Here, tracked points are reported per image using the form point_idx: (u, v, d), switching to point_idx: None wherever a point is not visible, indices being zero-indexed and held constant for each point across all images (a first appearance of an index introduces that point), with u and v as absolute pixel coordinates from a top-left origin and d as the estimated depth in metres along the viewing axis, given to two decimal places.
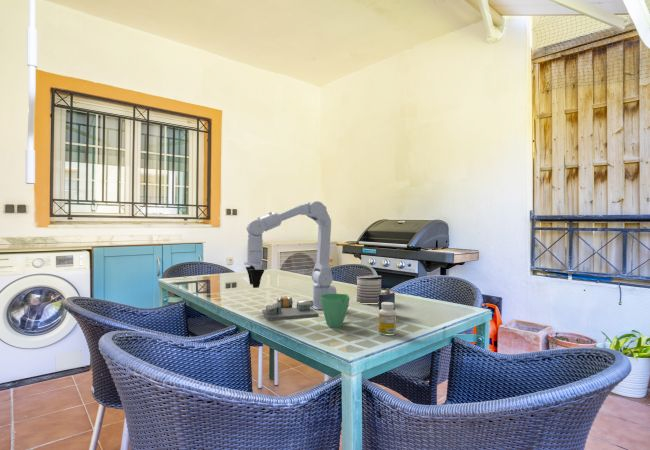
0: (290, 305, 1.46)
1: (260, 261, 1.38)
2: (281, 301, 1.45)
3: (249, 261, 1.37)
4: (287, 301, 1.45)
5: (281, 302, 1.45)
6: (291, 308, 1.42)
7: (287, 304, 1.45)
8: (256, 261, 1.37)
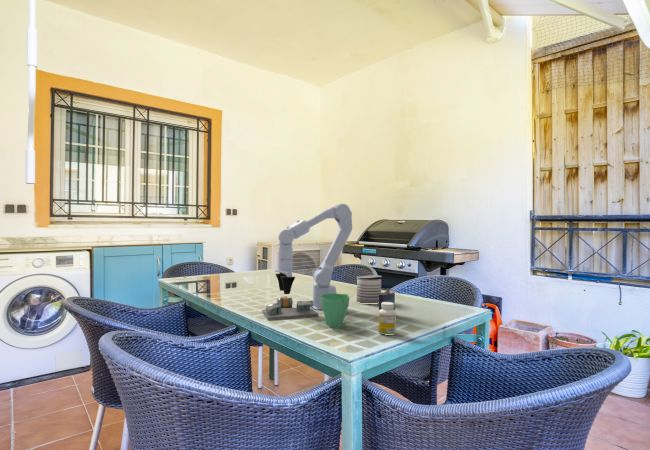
0: (290, 305, 1.46)
1: (290, 269, 1.46)
2: (281, 301, 1.45)
3: (280, 269, 1.45)
4: (287, 301, 1.45)
5: (281, 302, 1.45)
6: (291, 308, 1.42)
7: (287, 304, 1.45)
8: (287, 269, 1.44)
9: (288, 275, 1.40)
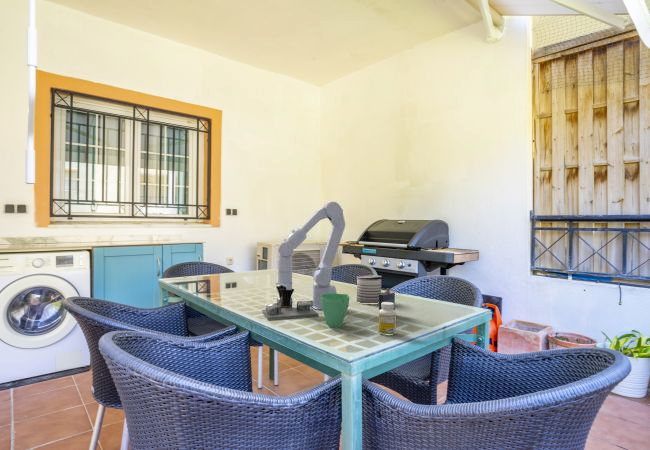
0: (290, 305, 1.46)
1: (290, 281, 1.46)
2: (281, 301, 1.45)
3: (280, 281, 1.45)
4: None
5: (281, 302, 1.45)
6: (291, 308, 1.42)
7: None
8: (287, 281, 1.44)
9: (288, 288, 1.40)
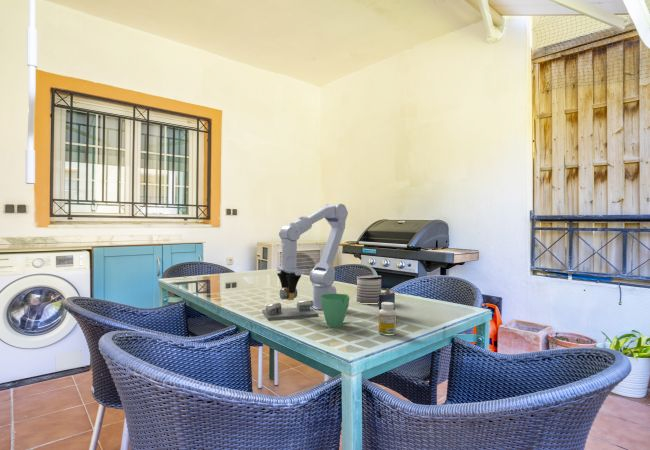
0: (295, 295, 1.38)
1: None
2: (286, 291, 1.36)
3: (286, 267, 1.36)
4: None
5: (287, 292, 1.36)
6: (291, 308, 1.42)
7: (292, 294, 1.37)
8: (293, 267, 1.36)
9: (298, 273, 1.32)
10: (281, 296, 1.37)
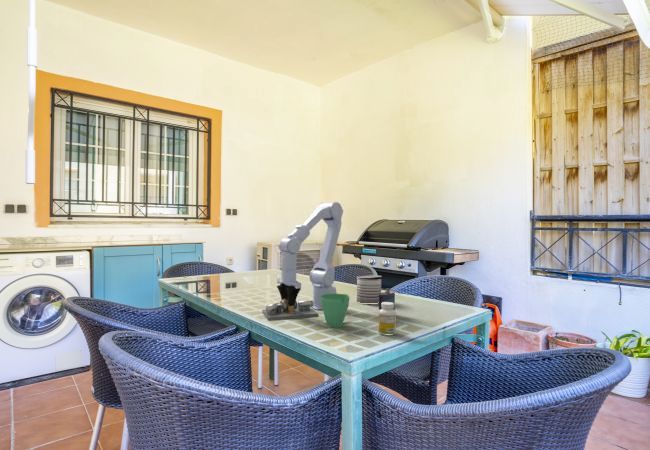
0: (295, 307, 1.38)
1: (295, 279, 1.38)
2: (286, 303, 1.36)
3: (285, 280, 1.36)
4: None
5: (286, 304, 1.36)
6: None
7: (292, 306, 1.37)
8: (293, 279, 1.36)
9: (298, 286, 1.32)
10: (281, 308, 1.37)
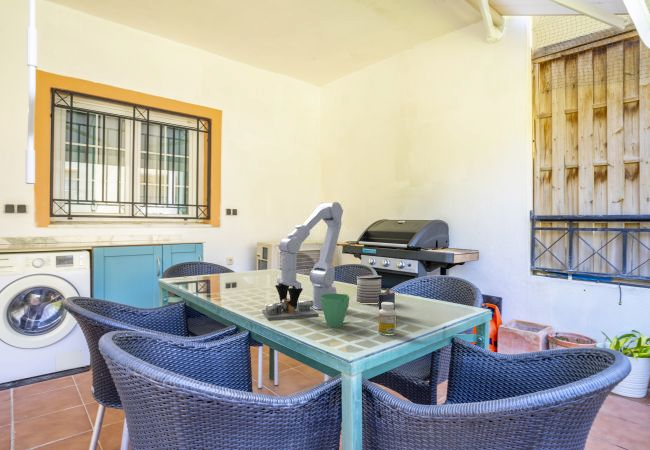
0: (295, 307, 1.38)
1: (295, 279, 1.38)
2: (286, 303, 1.36)
3: (285, 280, 1.36)
4: None
5: (286, 304, 1.36)
6: None
7: None
8: (293, 280, 1.36)
9: (298, 287, 1.32)
10: (281, 308, 1.37)
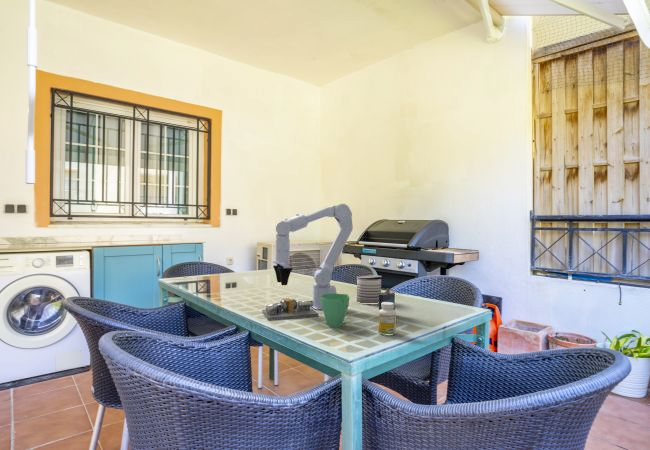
0: (295, 307, 1.38)
1: (288, 260, 1.46)
2: (286, 303, 1.36)
3: (277, 260, 1.45)
4: (292, 303, 1.37)
5: (286, 304, 1.36)
6: None
7: (292, 306, 1.37)
8: (284, 260, 1.45)
9: (285, 266, 1.41)
10: (281, 308, 1.37)
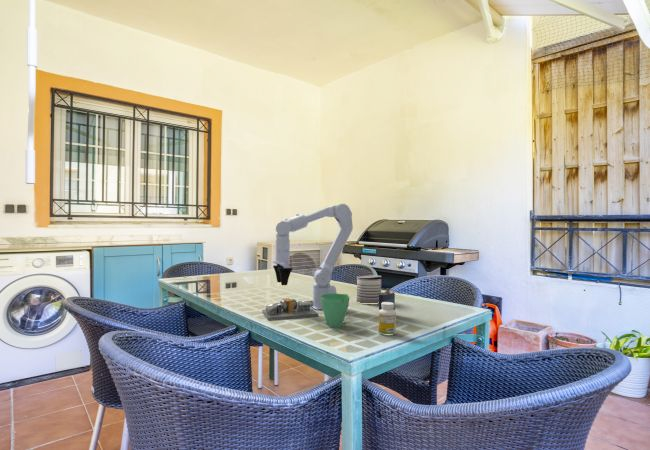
0: (295, 307, 1.38)
1: (288, 260, 1.46)
2: (286, 303, 1.36)
3: (277, 260, 1.45)
4: (292, 303, 1.37)
5: (286, 304, 1.36)
6: None
7: (292, 306, 1.37)
8: (284, 260, 1.45)
9: (285, 266, 1.41)
10: (281, 308, 1.37)
